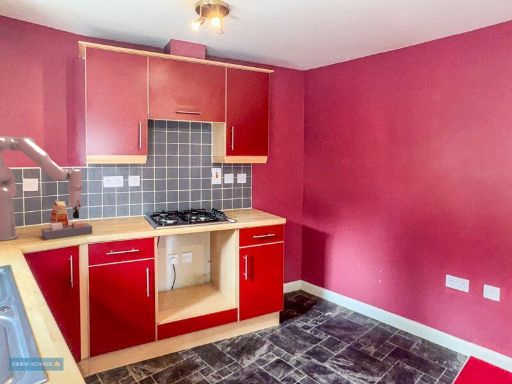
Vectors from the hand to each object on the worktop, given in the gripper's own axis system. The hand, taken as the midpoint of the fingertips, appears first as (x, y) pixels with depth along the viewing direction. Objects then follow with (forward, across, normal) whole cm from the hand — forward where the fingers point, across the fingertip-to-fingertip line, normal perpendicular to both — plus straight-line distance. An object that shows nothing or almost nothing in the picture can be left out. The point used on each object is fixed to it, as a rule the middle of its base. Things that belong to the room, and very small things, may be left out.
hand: (75, 218), depth 231 cm
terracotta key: (+8, 0, +1) cm, 8 cm away
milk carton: (+11, -18, -5) cm, 21 cm away
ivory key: (+7, 0, -11) cm, 13 cm away
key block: (+10, 0, -5) cm, 11 cm away
